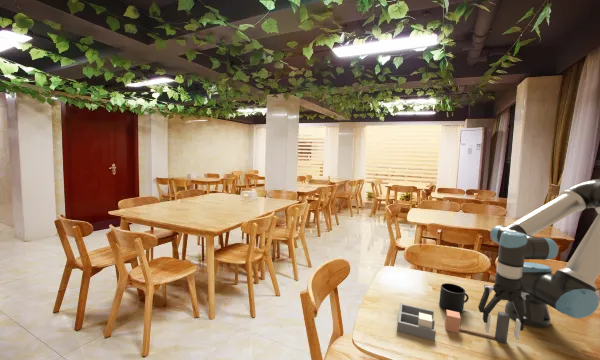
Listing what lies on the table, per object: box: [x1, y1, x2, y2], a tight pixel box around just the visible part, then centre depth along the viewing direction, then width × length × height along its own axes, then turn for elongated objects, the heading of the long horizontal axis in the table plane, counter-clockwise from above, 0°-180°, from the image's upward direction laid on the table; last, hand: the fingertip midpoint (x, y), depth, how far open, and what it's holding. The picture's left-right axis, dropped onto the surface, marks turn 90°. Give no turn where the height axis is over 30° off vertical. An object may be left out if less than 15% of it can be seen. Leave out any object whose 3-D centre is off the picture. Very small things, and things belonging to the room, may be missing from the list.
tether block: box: [444, 310, 511, 344], centre depth 109 cm, size 20×4×10 cm, turn 68°
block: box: [418, 312, 432, 329], centre depth 109 cm, size 4×4×6 cm
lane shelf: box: [396, 302, 437, 341], centre depth 114 cm, size 13×15×4 cm
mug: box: [438, 282, 470, 314], centre depth 127 cm, size 9×12×9 cm
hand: (501, 334), depth 106 cm, fingers open, 8 cm apart
